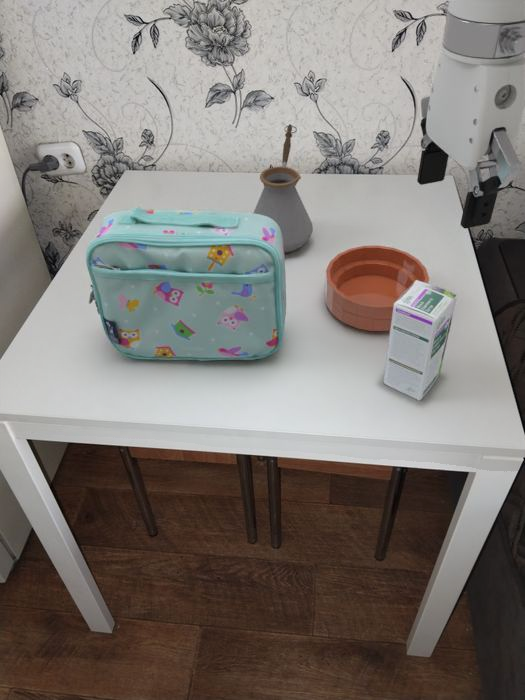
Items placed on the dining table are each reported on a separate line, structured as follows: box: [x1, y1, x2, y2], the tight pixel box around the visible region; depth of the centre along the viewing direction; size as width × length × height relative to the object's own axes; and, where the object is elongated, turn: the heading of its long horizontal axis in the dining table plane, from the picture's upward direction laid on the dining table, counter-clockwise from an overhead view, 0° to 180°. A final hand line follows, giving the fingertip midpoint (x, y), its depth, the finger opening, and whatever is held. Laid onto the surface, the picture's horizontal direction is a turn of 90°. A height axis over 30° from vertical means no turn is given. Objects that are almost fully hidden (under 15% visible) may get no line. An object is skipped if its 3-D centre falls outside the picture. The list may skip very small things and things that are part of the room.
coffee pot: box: [253, 123, 314, 254], centre depth 104 cm, size 21×12×15 cm, turn 171°
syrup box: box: [383, 280, 458, 402], centre depth 76 cm, size 6×6×14 cm
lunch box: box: [85, 206, 287, 362], centre depth 80 cm, size 27×10×21 cm, turn 87°
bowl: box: [324, 245, 430, 332], centre depth 91 cm, size 15×15×6 cm
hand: (451, 202), depth 65 cm, fingers open, 9 cm apart
